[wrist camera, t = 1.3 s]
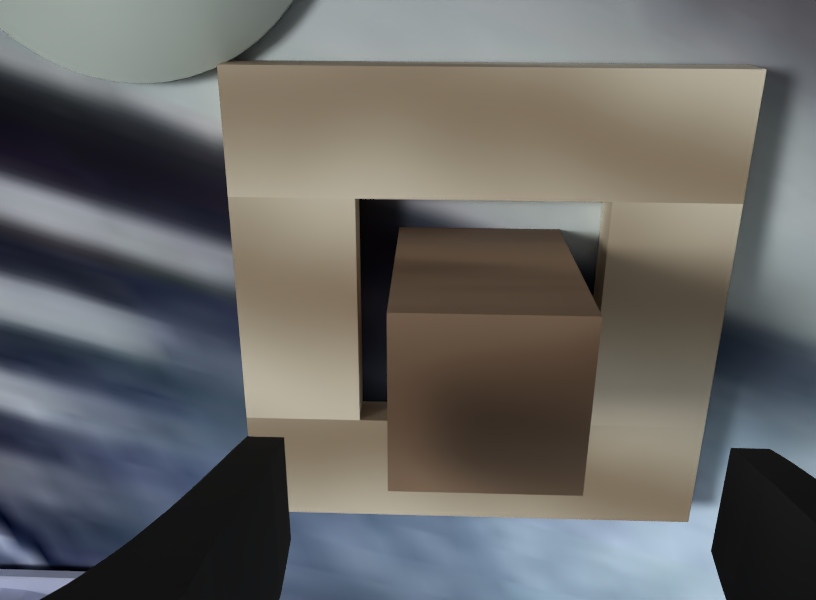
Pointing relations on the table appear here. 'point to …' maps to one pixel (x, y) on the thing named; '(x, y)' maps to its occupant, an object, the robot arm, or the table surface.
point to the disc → (139, 34)
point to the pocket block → (496, 181)
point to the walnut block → (489, 363)
